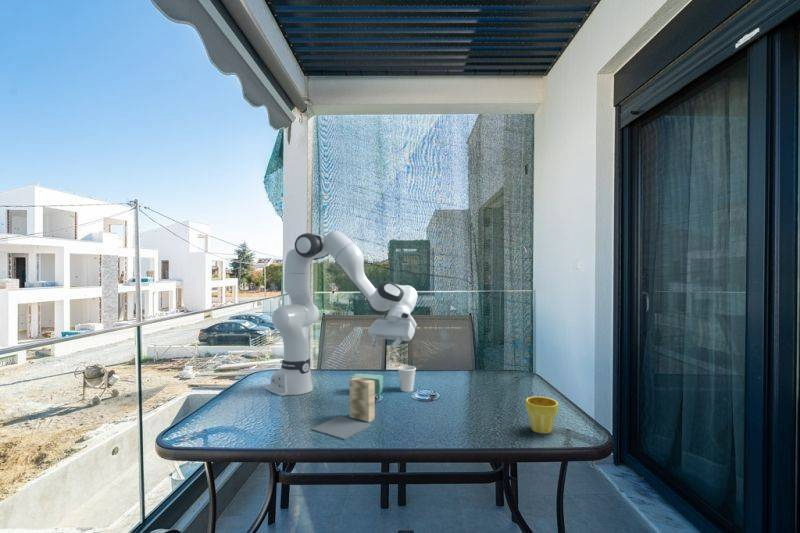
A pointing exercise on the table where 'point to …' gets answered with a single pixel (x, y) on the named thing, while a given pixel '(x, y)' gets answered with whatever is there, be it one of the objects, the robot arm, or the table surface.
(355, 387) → the oak slab
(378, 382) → the box
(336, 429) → the mat
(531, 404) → the plant pot
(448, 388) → the table surface
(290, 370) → the robot arm
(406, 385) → the dixie cup
